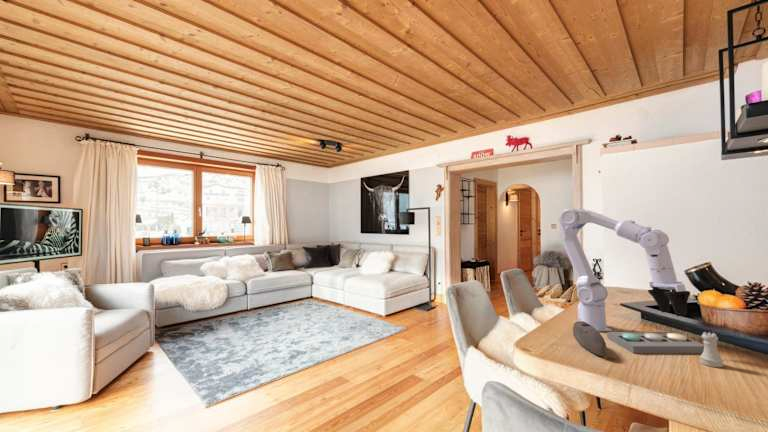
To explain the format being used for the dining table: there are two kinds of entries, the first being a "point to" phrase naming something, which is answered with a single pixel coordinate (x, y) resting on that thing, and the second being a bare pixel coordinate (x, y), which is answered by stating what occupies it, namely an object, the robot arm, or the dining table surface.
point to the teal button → (631, 337)
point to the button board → (656, 344)
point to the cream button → (676, 337)
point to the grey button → (653, 337)
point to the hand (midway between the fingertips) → (673, 313)
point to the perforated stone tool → (589, 338)
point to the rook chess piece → (711, 351)
